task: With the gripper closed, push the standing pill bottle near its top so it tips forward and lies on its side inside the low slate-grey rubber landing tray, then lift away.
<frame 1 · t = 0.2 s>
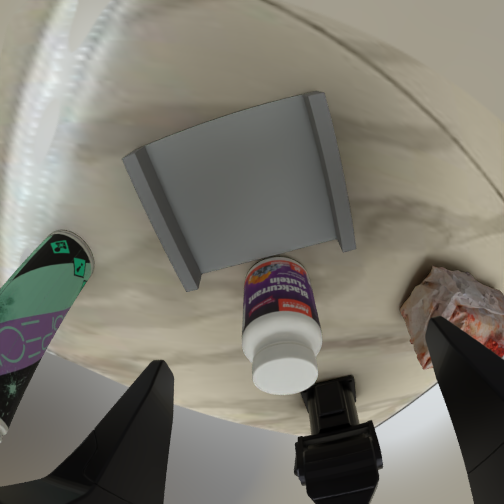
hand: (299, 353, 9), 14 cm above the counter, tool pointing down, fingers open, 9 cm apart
food item: (449, 293, 27), on the counter
pill bottle: (276, 280, 26), on the counter
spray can: (70, 255, 25), on the counter
landing tray: (246, 190, 21), on the counter
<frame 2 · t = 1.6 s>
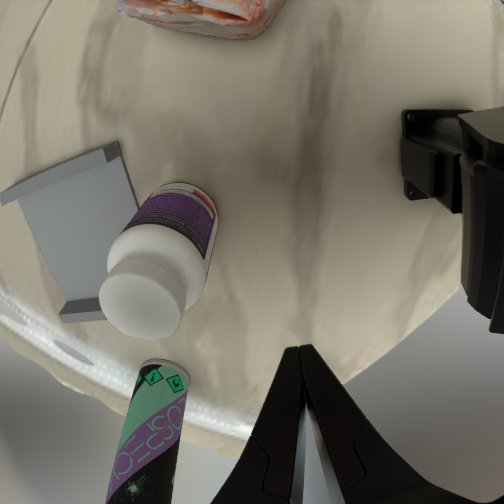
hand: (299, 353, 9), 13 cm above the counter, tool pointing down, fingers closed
pill bottle: (181, 216, 21), on the counter
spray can: (165, 373, 31), on the counter
landing tray: (86, 238, 22), on the counter
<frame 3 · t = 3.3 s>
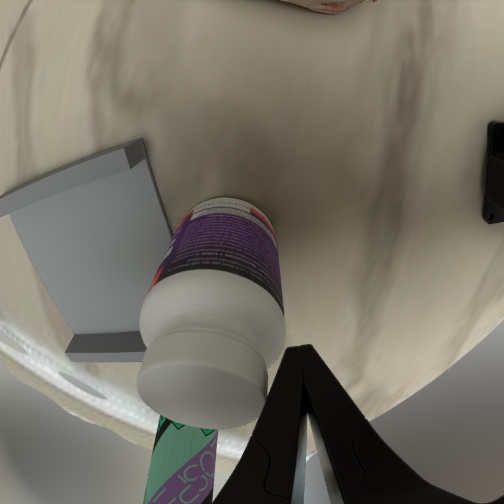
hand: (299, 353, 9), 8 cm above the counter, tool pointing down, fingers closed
pill bottle: (226, 240, 17), on the counter, touching gripper
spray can: (191, 409, 26), on the counter
landing tray: (98, 264, 18), on the counter
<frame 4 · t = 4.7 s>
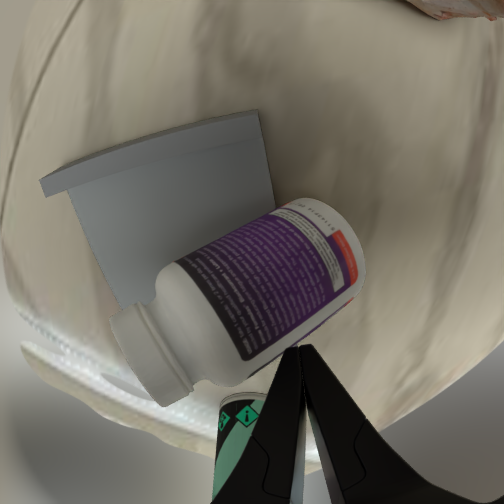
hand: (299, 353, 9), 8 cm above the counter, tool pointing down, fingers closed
pill bottle: (327, 246, 14), point 2 cm above the counter
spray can: (250, 405, 26), on the counter
landing tray: (181, 249, 17), on the counter
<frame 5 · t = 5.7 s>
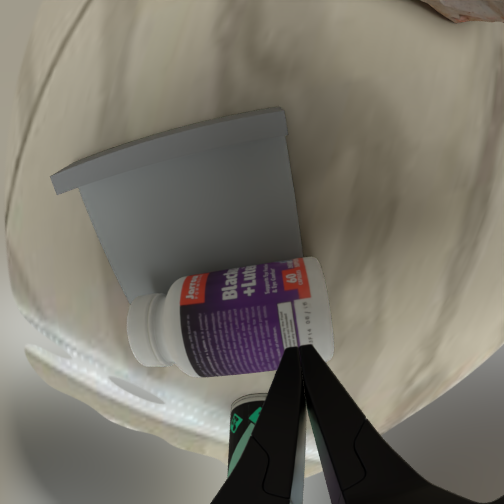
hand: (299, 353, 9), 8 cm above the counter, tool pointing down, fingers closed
pill bottle: (329, 307, 15), point 3 cm above the counter, touching landing tray
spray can: (261, 407, 25), on the counter
landing tray: (198, 248, 17), on the counter
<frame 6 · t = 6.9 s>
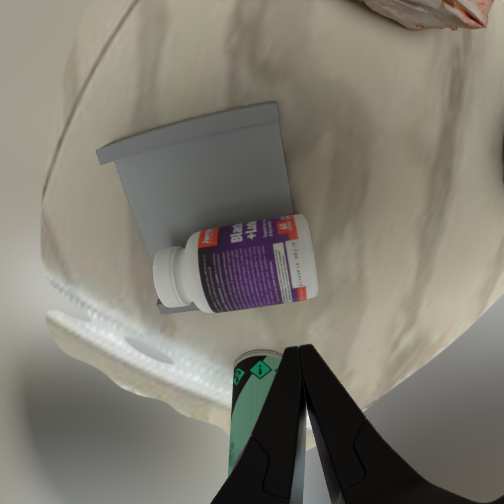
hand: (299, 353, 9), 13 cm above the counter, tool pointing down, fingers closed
pill bottle: (314, 254, 19), point 3 cm above the counter, touching landing tray
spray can: (261, 365, 30), on the counter
landing tray: (210, 211, 21), on the counter
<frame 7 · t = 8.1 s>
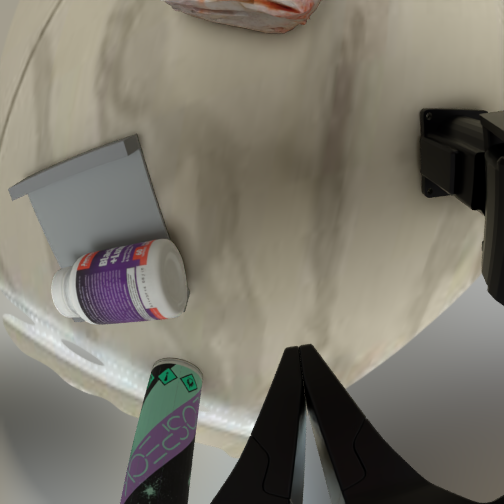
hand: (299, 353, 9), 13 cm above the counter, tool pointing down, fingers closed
pill bottle: (178, 276, 20), point 3 cm above the counter, touching landing tray
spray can: (177, 372, 31), on the counter
landing tray: (101, 235, 22), on the counter
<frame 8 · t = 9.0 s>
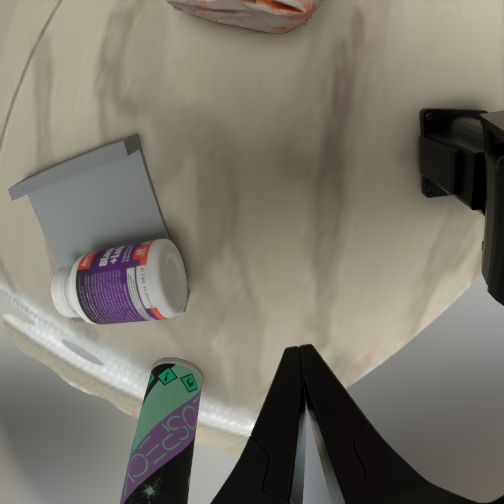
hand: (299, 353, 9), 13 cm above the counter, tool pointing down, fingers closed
pill bottle: (178, 276, 20), point 3 cm above the counter, touching landing tray
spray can: (177, 372, 31), on the counter
landing tray: (101, 235, 22), on the counter
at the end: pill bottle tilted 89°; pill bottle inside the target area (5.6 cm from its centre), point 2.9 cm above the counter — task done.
